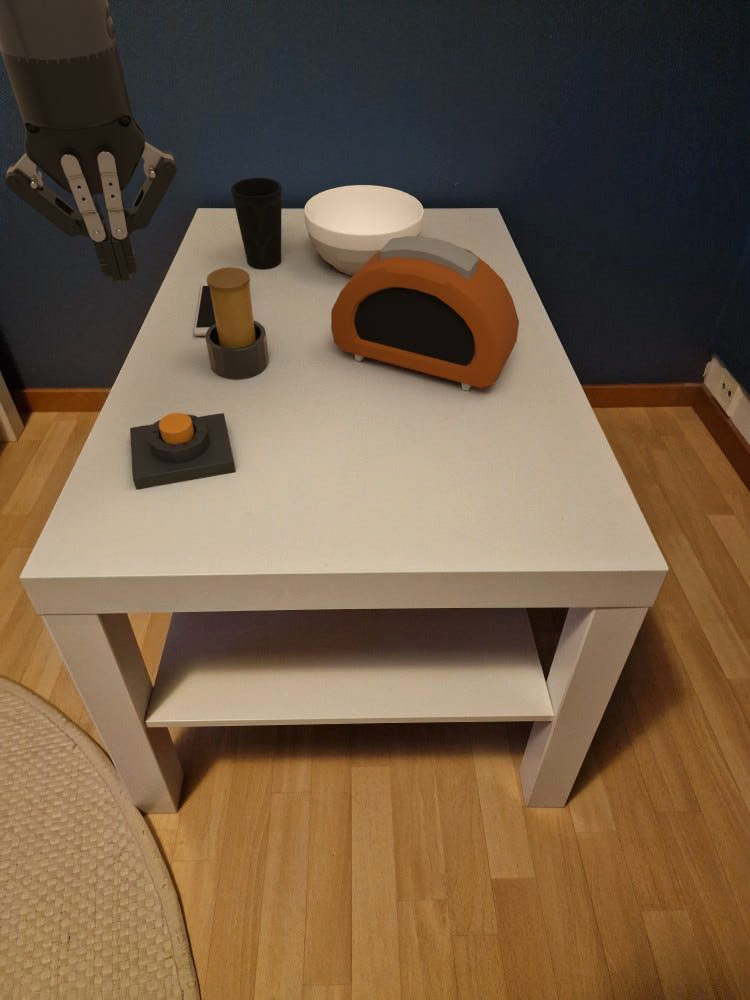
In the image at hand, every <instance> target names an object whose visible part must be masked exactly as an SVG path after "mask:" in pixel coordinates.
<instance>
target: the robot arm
mask: <svg viewBox="0 0 750 1000" xmlns="http://www.w3.org/2000/svg"><path fill="white" fill-rule="evenodd" d="M115 29H116V28H115V24H114V22H113V19H112V15H111V11H110V5H109V1H108V0H0V54H1V57H2V61H3V64H4V67H5V69H6V72H7V75H8V78H9V82H10V85H11V88H12V91H13V94H14V98H15V100H16V103H17V106H18V110H19V114H20V117H21V119H22V122H23V125H24V130H25V131H24V132H25V133H24V141H23V147H24V148H23V149H24V154H23V155H22V156H21V157H20V158H19V160H18V161H17V162H14V163H13V162H12V163H10V165H9V166H8V168H7V171H6V175H5V186H6V187H7V188H8V190H10V191H11V192H12V193H13V194H15V195H16V196H18V197H19V198H20V199H21V200H22V201H24V202H25V203H27V204H28V205H29V206H30V207H31V208H33V209H34V210H35V211H36V212H38V213H39V214H41V215H42V216H43V217H44V218H45V219H47V220H48V221H49V222H50V223H52V225H54V226H55V227H57V228H58V229H60V230H61V231H62V232H63V233H64V234H65V235H67V236H69V237H73V238H75V237H77V236H84V237H86V238H88V239H90V241H92V243H93V246H94V249H95V252H96V256H97V261H98V263H99V267H100V270H101V272H102V274H103V275H104V276H105V277H111V279H112V283H121V282H129V281H132V274H137V273H136V272H137V258H136V255H135V250H134V247H133V242H132V238H131V234H132V233H133V232H135V231H138V230H144V229H147V227H148V226H149V224H150V222H151V220H152V219H153V217H154V215H155V213H156V211H157V210H158V208H159V206H160V204H161V202H162V200H163V198H164V197H165V195H166V193H167V191H168V189H169V187H170V186H171V183H172V181H173V180H174V178H175V176H176V174H177V165H176V160H175V156H174V154H173V153H172V152H171V151H170V150H167V149H165V150H159V149H158V148H157V147H155V146H153V145H152V144H150V143H148V142H147V141H146V139H145V135H144V132H143V130H142V128H141V127H140V126H139V125H138V123H137V121H136V120H135V118H134V115H133V110H132V107H131V102H130V97H129V93H128V89H127V88H128V87H127V84H126V78H125V73H124V69H123V65H122V61H121V56H120V51H119V46H118V43H117V42H118V41H117V37H116V30H115ZM141 159H143V161H144V162H143V173H144V175H145V177H146V179H145V180H144V182H143V185H142V186H141V188H140V190H139V191H138V194H137V195H136V198H135V199H134V201H133V204H132V206H131V207H129V208H127V209H126V208H125V203H124V196H123V191H124V190H125V189H126V188H127V187H128V186H129V184H130V182H131V180H132V178H133V176H134V174H135V172H136V169H137V167H138V165H139V163H140V161H141ZM40 170H41V171H42V172H43V173H44V174H45V175H47V176H48V177H49V178H50V179H51V180H52V181H54V183H56V185H58V186H59V187H60V188H61V189H63V190H64V191H65V192H67V193H68V194H70V195H73V198H74V200H75V203H76V206H77V208H78V210H77V209H75V208H74V207H73V206H72V205H70V204H69V203H68V202H67V201H65V199H64V198H62V197H61V196H59V194H57V193H55V192H54V191H53V190H52V189H51V188H50V187H49V186H47V184H45V183H44V182H45V181H44V180H45V178H44V175H43V173H42V172H41V171H40ZM98 195H103V197H104V201H105V207H106V212H107V215H108V222H109V225H110V229H108V226H107V222H106V219H105V216H104V214H103V211H102V207H101V205H100V202H99V200H98Z"/></svg>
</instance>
